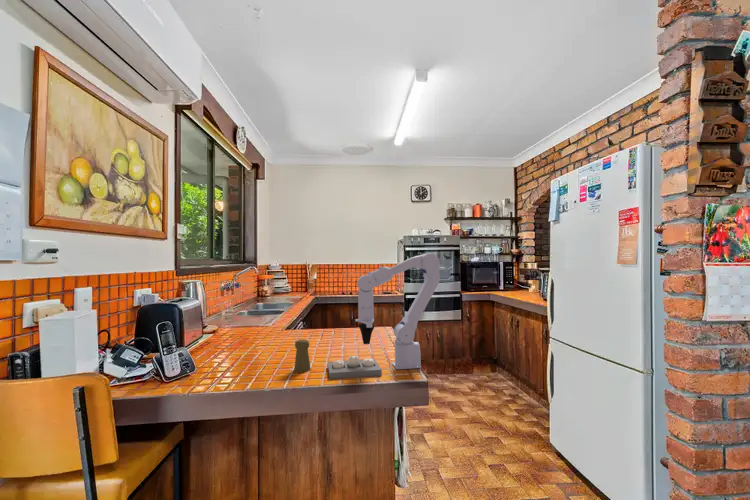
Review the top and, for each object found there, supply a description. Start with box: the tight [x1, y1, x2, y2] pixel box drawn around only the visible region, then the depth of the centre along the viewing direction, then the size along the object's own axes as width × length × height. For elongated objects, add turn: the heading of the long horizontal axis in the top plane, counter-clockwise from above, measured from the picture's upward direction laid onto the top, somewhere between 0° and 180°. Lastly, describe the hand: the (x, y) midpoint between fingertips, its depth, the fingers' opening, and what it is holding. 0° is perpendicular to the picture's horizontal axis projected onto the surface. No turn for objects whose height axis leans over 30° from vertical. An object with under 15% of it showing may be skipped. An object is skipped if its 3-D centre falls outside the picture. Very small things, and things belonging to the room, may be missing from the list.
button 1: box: [362, 358, 374, 367], centre depth 135 cm, size 4×4×3 cm
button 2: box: [347, 355, 360, 367], centre depth 134 cm, size 4×4×3 cm
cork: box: [293, 338, 312, 373], centre depth 137 cm, size 6×6×11 cm
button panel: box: [327, 358, 383, 380], centre depth 134 cm, size 18×14×2 cm
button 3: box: [332, 360, 345, 369], centre depth 133 cm, size 4×4×3 cm
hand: (366, 343), depth 138 cm, fingers closed
